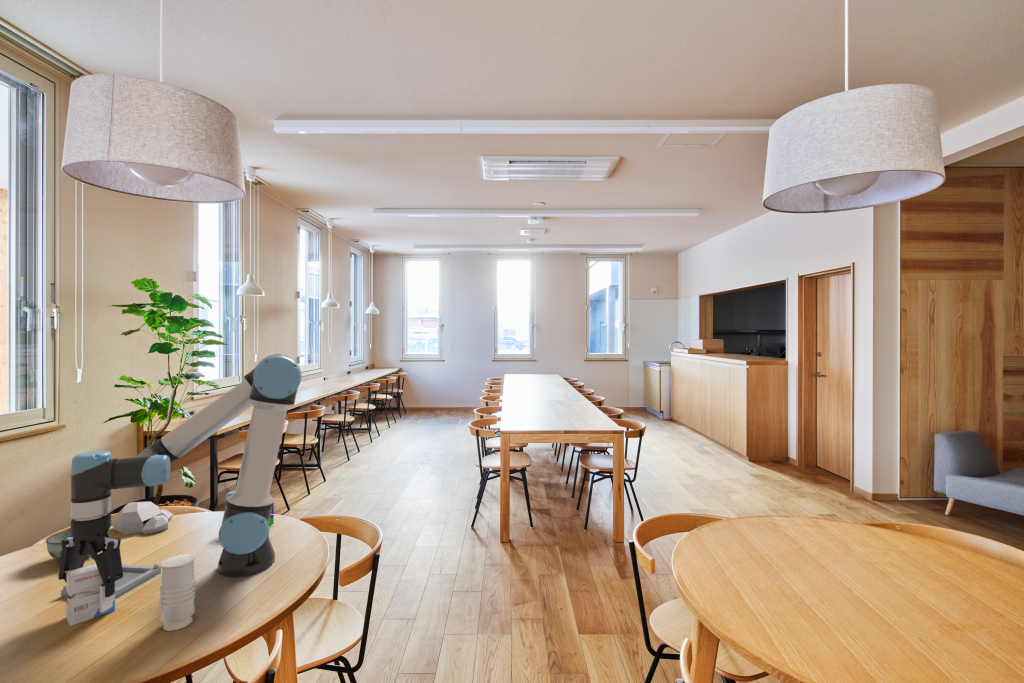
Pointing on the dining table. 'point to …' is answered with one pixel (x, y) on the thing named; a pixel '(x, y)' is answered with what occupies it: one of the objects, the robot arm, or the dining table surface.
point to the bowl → (57, 543)
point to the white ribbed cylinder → (177, 592)
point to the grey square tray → (131, 578)
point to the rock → (141, 518)
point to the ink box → (84, 595)
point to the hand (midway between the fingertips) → (90, 608)
